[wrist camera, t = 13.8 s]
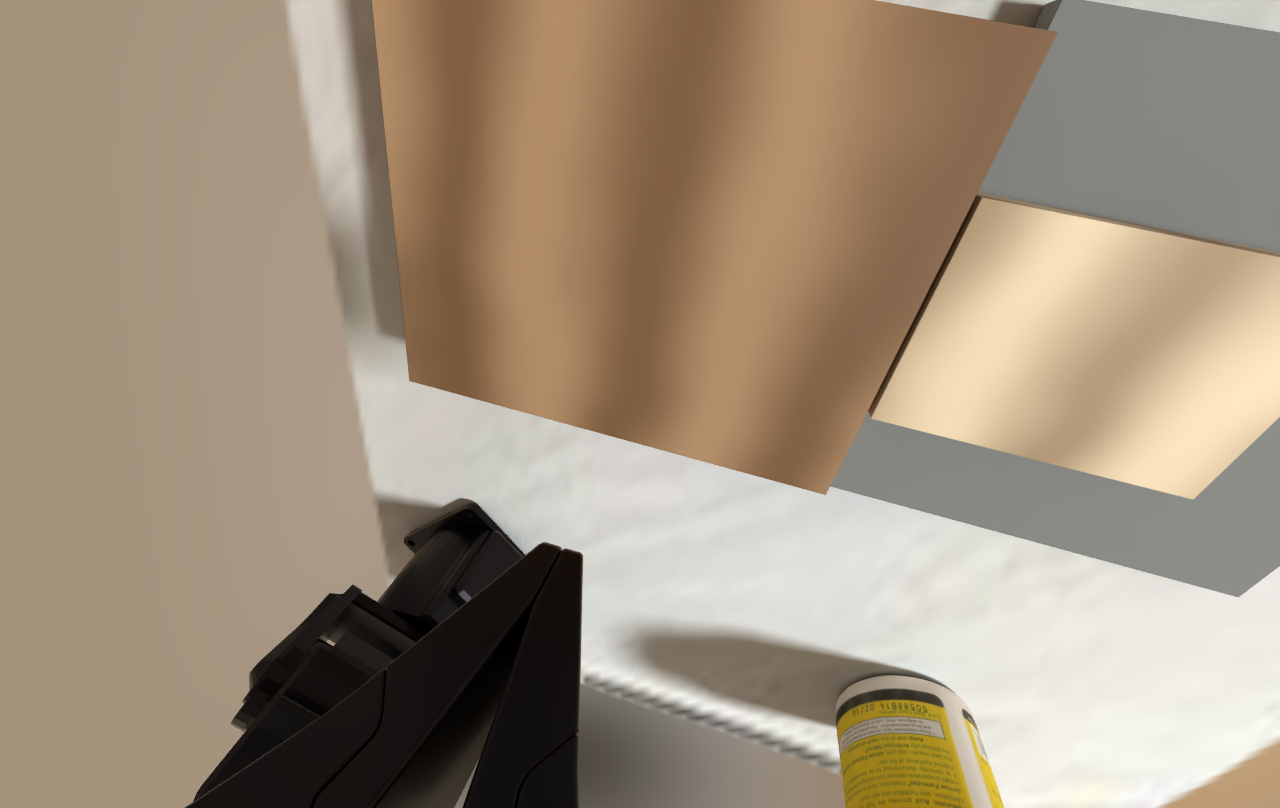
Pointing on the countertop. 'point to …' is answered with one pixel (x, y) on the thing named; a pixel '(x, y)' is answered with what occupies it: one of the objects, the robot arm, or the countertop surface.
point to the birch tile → (1093, 346)
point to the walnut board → (685, 206)
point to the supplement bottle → (911, 747)
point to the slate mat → (1141, 194)
